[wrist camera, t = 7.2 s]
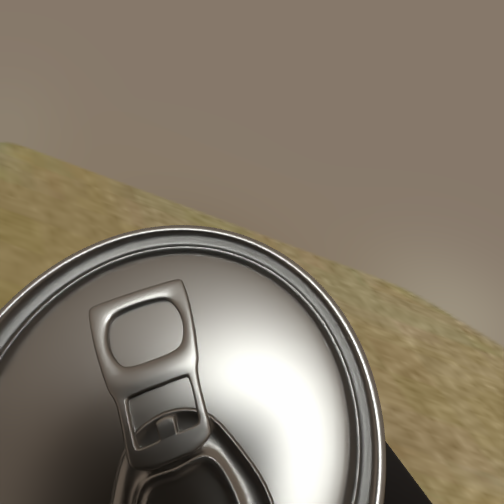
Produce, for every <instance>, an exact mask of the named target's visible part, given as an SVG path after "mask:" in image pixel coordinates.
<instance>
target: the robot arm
mask: <svg viewBox="0 0 504 504" xmlns="http://www.w3.org/2000/svg"><path fill="white" fill-rule="evenodd" d="M385 445H386V482H385V495H384V503H383V504H432V503H431V501H430V500H429V499H428V497H427V496H426V495H425V493H424V492H423V491H422V489H421V488H420V487H419V485H418V484H417V483H416V481H415V480H414V479H413V477H412V476H411V475H410V473H409V472H408V471H407V469H406V468H405V467H404V465H403V464H402V463H401V461H400V460H399V459H398V457H397V456H396V455H395V453H394V452H393V451H392V449H391V448H390V447H389V445H388V444H387V443H386V441H385Z"/></svg>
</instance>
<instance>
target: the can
mask: <svg viewBox="0 0 504 504" xmlns="http://www.w3.org/2000/svg"><path fill="white" fill-rule="evenodd" d="M385 482H386V445H385V433H384V424H383V416H382V411H381V405H380V400H379V396H378V392H377V388H376V384H375V381H374V377H373V374H372V371H371V368H370V365H369V363H368V360H367V357H366V355H365V353H364V350H363V348H362V346H361V344H360V341H359V339H358V338H357V336H356V334H355V332H354V330H353V328H352V326H351V325H350V323H349V321H348V320H347V318H346V317H345V315H344V314H343V312H342V311H341V309H340V308H339V306H338V305H337V304H336V302H335V301H334V300H333V299H332V297H331V296H330V295H329V294H328V293H327V291H326V290H325V289H324V288H323V287H322V286H321V285H320V284H319V283H318V282H317V281H316V280H315V279H314V278H313V277H312V276H311V275H310V274H309V273H308V272H306V271H305V270H304V269H303V268H302V267H300V266H299V265H298V264H297V263H295V262H294V261H292V260H291V259H290V258H288V257H287V256H285V255H284V254H282V253H280V252H279V251H277V250H275V249H273V248H271V247H270V246H268V245H266V244H264V243H261V242H259V241H257V240H254V239H252V238H249V237H247V236H244V235H241V234H238V233H234V232H231V231H227V230H222V229H217V228H211V227H204V226H191V225H172V226H159V227H151V228H145V229H140V230H135V231H131V232H127V233H123V234H120V235H117V236H113V237H111V238H108V239H105V240H102V241H100V242H97V243H95V244H93V245H90V246H88V247H86V248H84V249H82V250H80V251H78V252H76V253H74V254H72V255H70V256H68V257H67V258H65V259H63V260H62V261H60V262H58V263H57V264H55V265H54V266H52V267H51V268H49V269H48V270H46V271H45V272H43V273H42V274H41V275H39V276H38V277H37V278H35V279H34V280H33V281H31V282H30V283H29V284H28V285H27V286H25V287H24V288H23V289H22V290H21V291H20V292H18V293H17V294H16V295H15V296H14V297H13V298H12V299H11V300H10V301H9V302H8V303H7V304H6V305H5V306H4V307H3V308H2V309H1V310H0V504H383V503H384V495H385Z"/></svg>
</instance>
